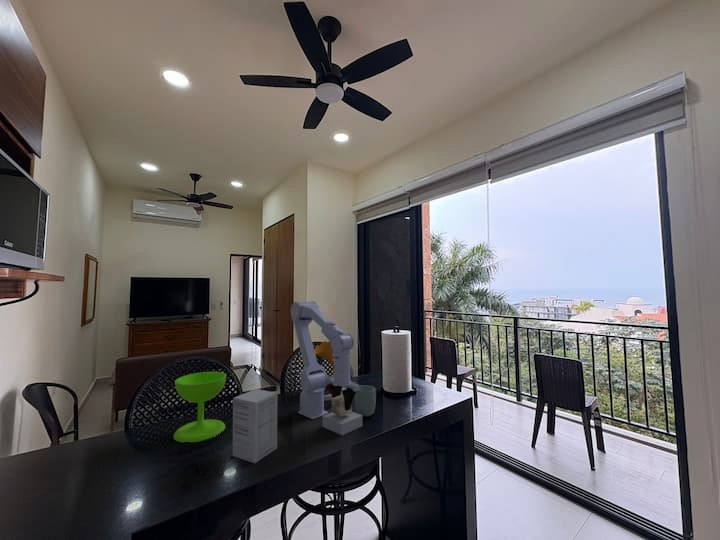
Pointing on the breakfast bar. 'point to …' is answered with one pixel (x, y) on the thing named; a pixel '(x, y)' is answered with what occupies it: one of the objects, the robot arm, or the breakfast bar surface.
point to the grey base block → (342, 422)
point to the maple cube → (339, 406)
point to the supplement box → (254, 425)
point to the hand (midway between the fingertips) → (342, 407)
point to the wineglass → (200, 404)
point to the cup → (365, 400)
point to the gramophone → (327, 352)
